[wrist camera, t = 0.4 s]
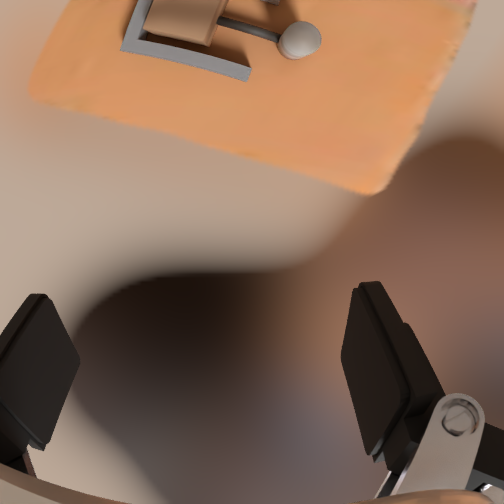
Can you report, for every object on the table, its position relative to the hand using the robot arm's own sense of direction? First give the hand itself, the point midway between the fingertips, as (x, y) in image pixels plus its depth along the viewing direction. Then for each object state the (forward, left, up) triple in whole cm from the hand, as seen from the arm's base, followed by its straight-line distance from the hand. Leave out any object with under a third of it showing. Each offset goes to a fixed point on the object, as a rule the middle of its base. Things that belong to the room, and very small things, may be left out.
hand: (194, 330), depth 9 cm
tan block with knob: (-13, -4, -28) cm, 31 cm away
